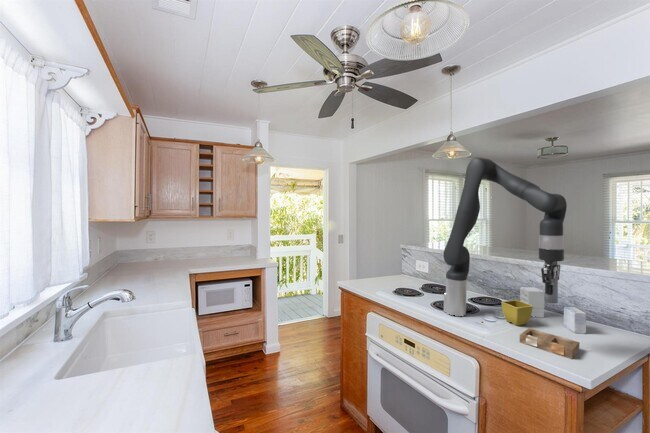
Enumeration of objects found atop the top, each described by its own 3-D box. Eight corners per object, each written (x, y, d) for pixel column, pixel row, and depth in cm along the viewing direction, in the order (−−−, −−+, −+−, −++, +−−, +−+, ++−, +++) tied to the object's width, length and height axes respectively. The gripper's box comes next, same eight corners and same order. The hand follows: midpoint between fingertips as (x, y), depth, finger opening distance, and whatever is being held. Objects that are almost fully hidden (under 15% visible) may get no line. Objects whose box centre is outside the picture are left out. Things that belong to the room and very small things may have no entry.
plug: (542, 301, 112) (542, 274, 112) (546, 299, 115) (546, 273, 115) (555, 304, 109) (555, 276, 109) (559, 301, 112) (559, 275, 111)
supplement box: (535, 312, 149) (535, 287, 148) (544, 318, 141) (545, 291, 141) (519, 311, 150) (520, 286, 149) (527, 317, 142) (528, 290, 142)
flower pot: (517, 328, 129) (517, 307, 129) (500, 320, 138) (500, 301, 137) (532, 326, 132) (533, 305, 131) (515, 318, 140) (516, 299, 140)
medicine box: (586, 334, 124) (587, 313, 124) (573, 333, 125) (574, 312, 124) (574, 326, 132) (575, 307, 131) (562, 325, 132) (563, 306, 132)
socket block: (519, 342, 116) (519, 334, 116) (528, 335, 122) (529, 327, 122) (571, 359, 103) (571, 350, 103) (579, 350, 110) (579, 341, 110)
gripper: (545, 245, 119) (545, 288, 119) (532, 248, 110) (532, 294, 110) (569, 246, 113) (568, 292, 113) (557, 249, 104) (557, 299, 104)
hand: (550, 293), depth 112 cm, fingers closed on plug, 4 cm apart
